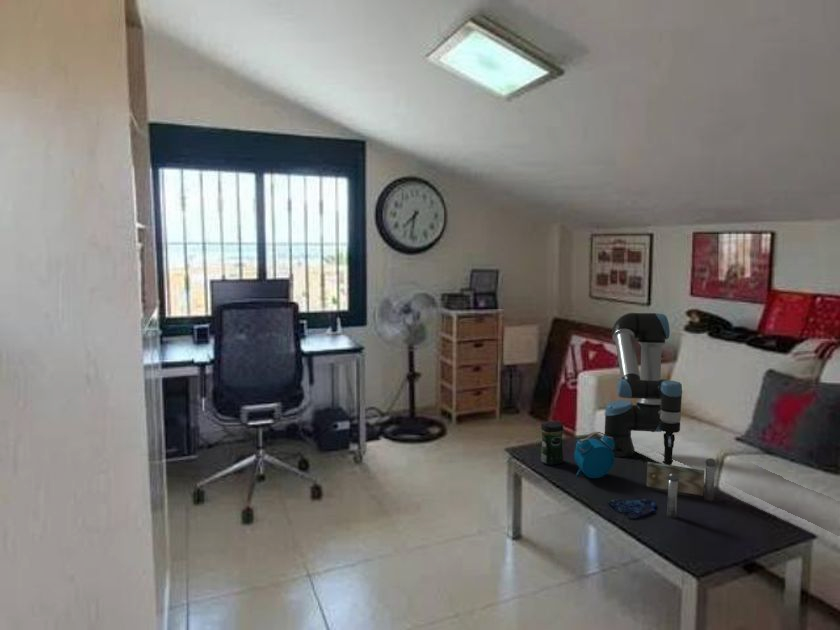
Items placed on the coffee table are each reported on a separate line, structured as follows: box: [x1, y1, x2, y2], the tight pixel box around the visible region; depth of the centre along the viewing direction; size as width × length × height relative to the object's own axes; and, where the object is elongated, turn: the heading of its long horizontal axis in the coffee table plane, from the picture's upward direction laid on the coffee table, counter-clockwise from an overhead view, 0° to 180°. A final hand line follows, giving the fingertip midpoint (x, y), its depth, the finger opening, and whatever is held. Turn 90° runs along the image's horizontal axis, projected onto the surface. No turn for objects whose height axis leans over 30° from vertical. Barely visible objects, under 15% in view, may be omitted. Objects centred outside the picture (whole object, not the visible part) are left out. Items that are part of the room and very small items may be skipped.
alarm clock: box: [573, 431, 615, 479], centre depth 239 cm, size 17×10×20 cm, turn 105°
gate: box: [646, 461, 705, 496], centre depth 222 cm, size 20×3×9 cm, turn 64°
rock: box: [607, 498, 656, 520], centre depth 211 cm, size 15×17×2 cm
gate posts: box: [666, 458, 717, 519], centre depth 211 cm, size 27×3×16 cm, turn 124°
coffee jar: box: [539, 420, 564, 466], centre depth 255 cm, size 10×8×19 cm
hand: (667, 478), depth 229 cm, fingers closed
